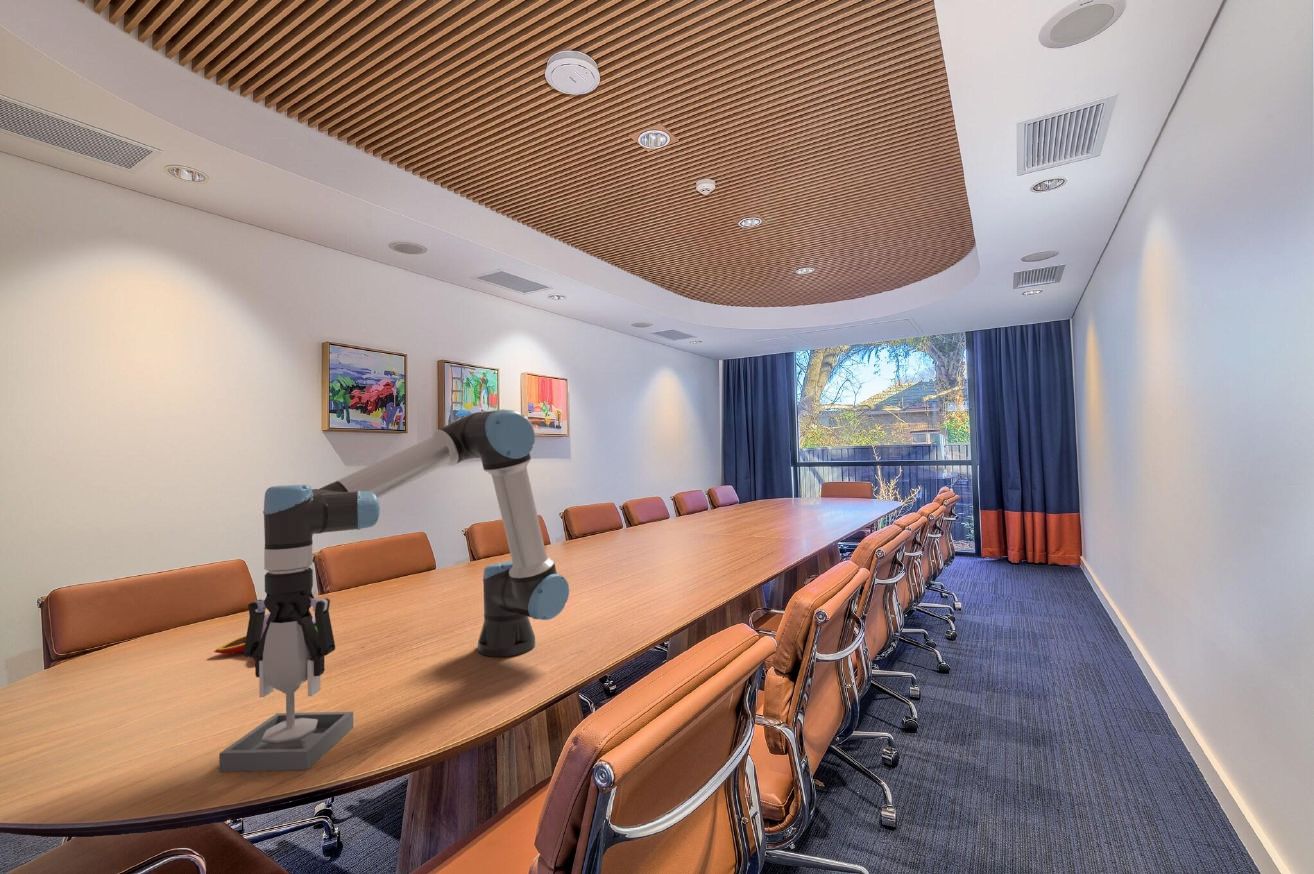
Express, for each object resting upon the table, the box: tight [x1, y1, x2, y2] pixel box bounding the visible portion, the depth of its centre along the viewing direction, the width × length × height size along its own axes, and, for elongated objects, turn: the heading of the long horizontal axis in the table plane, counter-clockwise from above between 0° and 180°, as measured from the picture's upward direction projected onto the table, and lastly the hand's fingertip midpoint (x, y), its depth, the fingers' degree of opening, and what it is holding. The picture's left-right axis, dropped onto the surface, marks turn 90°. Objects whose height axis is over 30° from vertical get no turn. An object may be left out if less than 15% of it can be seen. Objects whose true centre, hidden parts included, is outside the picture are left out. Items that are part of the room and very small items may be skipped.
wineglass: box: [262, 616, 318, 744], centre depth 107 cm, size 9×9×21 cm
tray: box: [218, 711, 354, 772], centre depth 107 cm, size 15×15×3 cm
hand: (290, 693), depth 107 cm, fingers closed on wineglass, 8 cm apart
